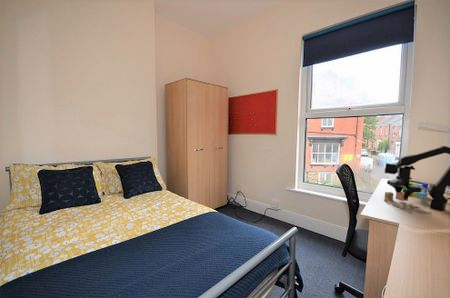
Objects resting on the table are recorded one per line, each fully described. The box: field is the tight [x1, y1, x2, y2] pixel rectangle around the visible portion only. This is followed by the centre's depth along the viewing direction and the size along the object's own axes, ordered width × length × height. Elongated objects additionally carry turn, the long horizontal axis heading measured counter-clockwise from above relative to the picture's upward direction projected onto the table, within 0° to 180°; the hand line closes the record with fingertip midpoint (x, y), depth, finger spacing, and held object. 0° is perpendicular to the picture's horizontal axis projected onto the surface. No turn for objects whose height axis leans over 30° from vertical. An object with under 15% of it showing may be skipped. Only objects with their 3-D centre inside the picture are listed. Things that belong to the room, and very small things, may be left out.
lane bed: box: [391, 203, 432, 214], centre depth 128 cm, size 13×20×2 cm, turn 4°
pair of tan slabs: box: [404, 203, 431, 214], centre depth 124 cm, size 5×11×1 cm, turn 4°
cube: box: [395, 191, 409, 202], centre depth 134 cm, size 4×4×4 cm
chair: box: [412, 185, 429, 203], centre depth 137 cm, size 8×8×12 cm
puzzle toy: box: [402, 179, 429, 200], centre depth 151 cm, size 10×10×10 cm
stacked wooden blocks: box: [383, 191, 410, 210], centre depth 130 cm, size 5×13×6 cm, turn 4°
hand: (401, 198), depth 134 cm, fingers closed on cube, 4 cm apart
